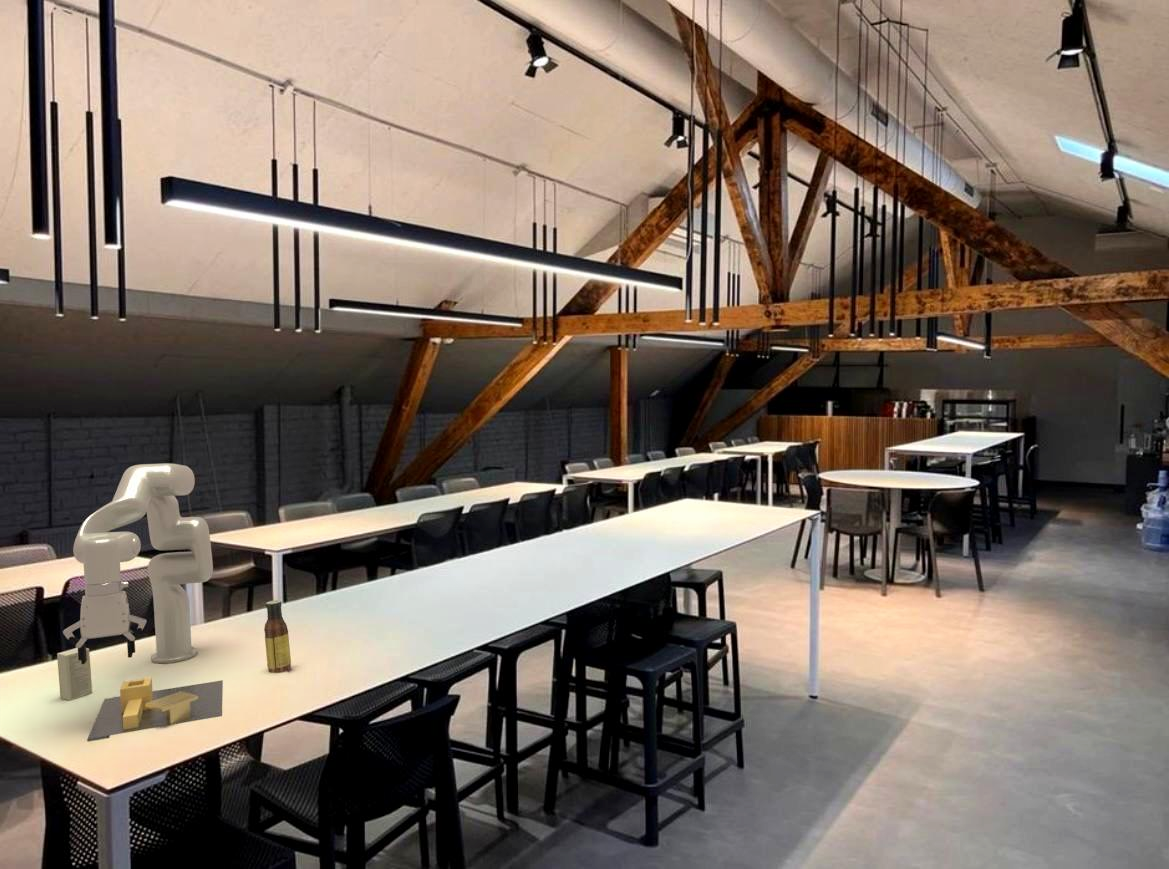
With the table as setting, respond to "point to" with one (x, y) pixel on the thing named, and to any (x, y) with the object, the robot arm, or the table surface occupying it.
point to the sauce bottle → (276, 639)
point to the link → (135, 700)
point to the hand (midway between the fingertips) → (107, 659)
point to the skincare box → (74, 675)
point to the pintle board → (157, 717)
